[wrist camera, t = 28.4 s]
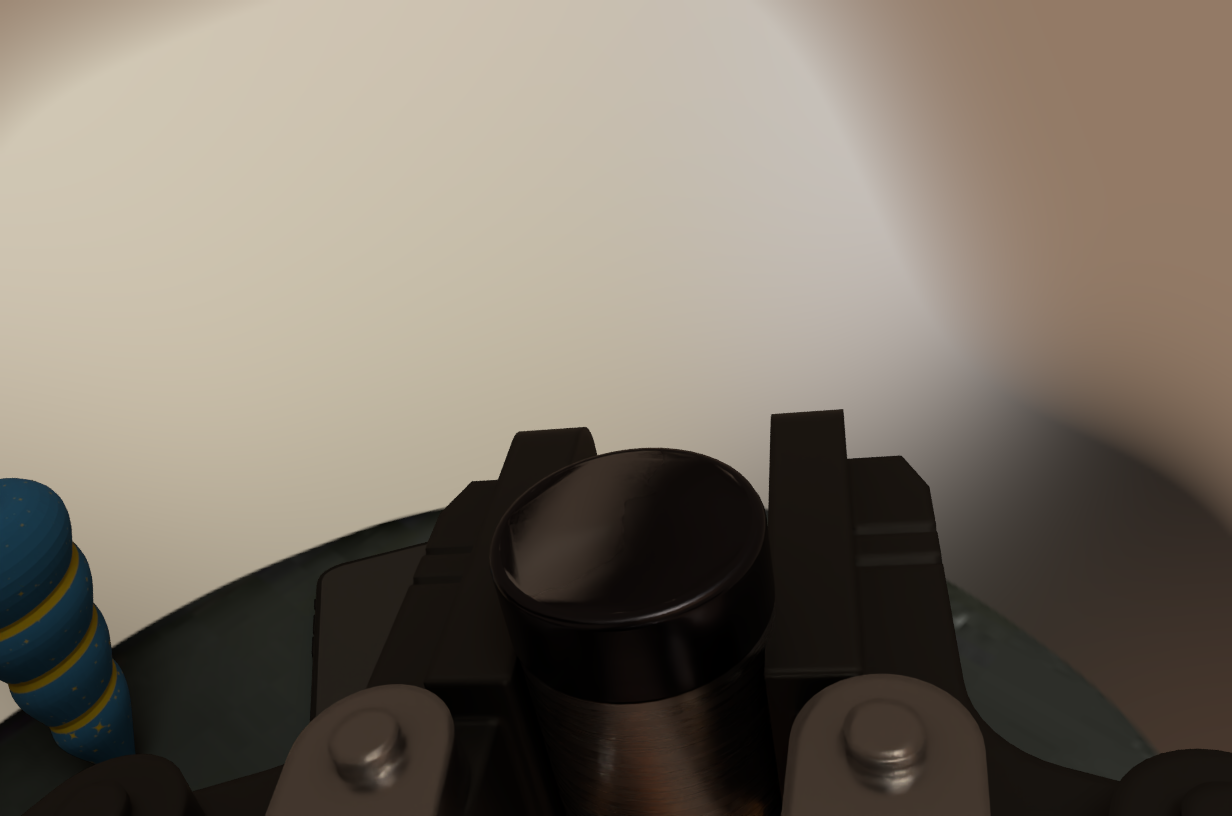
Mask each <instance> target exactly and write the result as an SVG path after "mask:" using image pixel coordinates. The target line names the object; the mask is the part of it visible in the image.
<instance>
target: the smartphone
mask: <svg viewBox="0 0 1232 816" xmlns="http://www.w3.org/2000/svg"><path fill="white" fill-rule="evenodd" d="M427 543H428V542H425V543H421V544H417V545H413V546H409V547H405V548H401V549H397V550H394V551H390V552H386V553H382V554H378V555H374V556H370V557H366V558H362V559H358V560H354V561H350V562H346V563H342V564H339V565H336V566H334V567H332V568H330V569H328V570H326V571H325V572H324V573H323V574H322V575H321V576H320V578H319V579H318V582H317V589H316V599H315V600H314V609H315V615H314V619H313V634H314V637H313V638H312V657H313V669H312V690H311V711H310V722H311V721H312V720H313V719H314V718H315V717H317V716H318V715H319V714H320V713H321V712H322V711H324V710H325V709H327V708H328V707H330V706H331V705H332V704H334V703H336V702H337V701H339V700H341V699H343V698H345V697H347V696H349V695H351V694H354V693H356V692H359V691H361V690H365V689H366V687H367V684H368V682H369V680H370V677H371V675H372V673H373V670H374V668H375V666H376V663H377V661H378V658H379V656H380V654H381V651H382V649H383V647H384V644H385V642H386V640H387V637H388V635H389V633H390V630H391V628H392V626H393V623H394V621H395V618H396V616H397V614H398V611H399V609H400V607H401V604H402V602H403V600H404V597H405V595H406V593H407V590H408V588H409V585H413V576H414V574H415V571H416V569H417V567H418V564H419V562H420V560H421V557H422V556H423V555H426V550H425V548H426V545H427Z"/></svg>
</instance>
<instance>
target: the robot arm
mask: <svg viewBox="0 0 1232 816" xmlns="http://www.w3.org/2000/svg"><path fill="white" fill-rule="evenodd" d="M770 433H771V434H770V468H769V470H770V471H769V508H768V534H769V542H770V550H771V558H772V566H773V574H774V582H775V602H774V607H775V617H774V623H773V628H772V631H771V634H770V637H769V639H768V642H767V644H766V645H765V666H764V677H765V684H766V692H767V699H768V706H769V713H770V721H771V728H772V735H773V742H774V750H775V757H776V764H777V771H778V779H779V786H780V793H781V800H782V813H781V816H1232V753H1230V752H1224V751H1219V750H1208V749H1185V750H1176V751H1171V752H1166V753H1161V754H1159V755H1156V756H1154V757H1151V758H1148V759H1146V760H1144V761H1143V762H1141V763H1140V764H1138V765H1136V766H1135V767H1133V768H1132V769H1131V770H1130V771H1129V772H1128V773H1127V774H1126V775H1125V776H1124V777H1123V778H1122V779H1121V781H1116V780H1112V779H1108V778H1104V777H1101V776H1097V775H1093V774H1089V773H1085V772H1081V771H1077V770H1073V769H1070V768H1066V767H1062V766H1059V765H1056V764H1053V763H1049V762H1046V761H1043V760H1041V759H1039V758H1037V757H1034V756H1032V755H1030V754H1028V753H1025V752H1024V751H1022V750H1020V749H1019V748H1017V747H1015V746H1014V745H1012V744H1010V743H1009V742H1007V741H1006V740H1005V739H1003V738H1002V737H1001V736H1000V735H998V734H997V733H996V732H994V731H993V730H992V729H991V728H990V726H989V725H988V724H987V723H986V722H985V721H984V720H983V719H982V718H981V716H980V715H979V714H978V712H977V711H976V710H975V708H974V707H973V705H972V703H971V701H970V699H969V697H968V695H967V691H966V688H965V684H964V680H963V674H962V669H961V663H960V657H959V652H958V646H957V640H956V635H955V629H954V624H953V618H952V612H951V607H950V601H949V595H948V590H947V584H946V578H945V573H944V567H943V564H942V559H941V558H942V557H941V550H940V545H939V539H938V533H937V531H936V522H935V516H934V511H933V505H932V499H931V494H930V488H929V486H928V485H927V484H926V482H925V481H924V480H923V479H922V478H921V477H920V476H919V475H918V474H917V472H916V471H915V470H914V469H913V468H912V467H911V466H910V465H909V463H908V462H907V461H906V460H905V459H904V458H903V457H902V456H886V457H871V458H870V457H869V458H853V459H847V452H846V438H845V425H844V413H843V409H839V410H826V411H811V412H797V413H783V414H772V415H771V429H770ZM594 456H597V453H596V448H595V444H594V440H593V437H592V435H591V432H590V431H589V429H588V428H587V427H578V428H564V429H550V430H536V431H521V432H518V433H516V435H515V436H514V438H513V440H512V443H511V446H510V449H509V451H508V454H507V457H506V460H505V462H504V465H503V468H502V470H501V473H500V476H499V478H498V480H487V481H472V482H471V483H470V484H469V485H468V486H467V487H466V488H465V489H464V490H463V491H462V492H461V493H460V494H459V495H458V496H457V497H456V498H455V499H454V500H453V501H452V502H451V503H450V504H449V505H448V506H447V507H446V508H445V509H444V510H443V511H442V512H441V513H440V515H439V517H438V520H437V522H436V524H435V527H434V529H433V531H432V534H431V536H430V538H429V541H428V543H427V545H426V548H425V550H426V555H423V556H422V557H421V560H420V562H419V564H418V567H417V569H416V571H415V574H414V576H413V585H409V588H408V590H407V593H406V595H405V597H404V600H403V602H402V604H401V607H400V609H399V611H398V614H397V616H396V618H395V621H394V623H393V626H392V628H391V630H390V633H389V635H388V637H387V640H386V642H385V644H384V647H383V649H382V651H381V654H380V656H379V658H378V661H377V663H376V666H375V668H374V670H373V673H372V675H371V677H370V680H369V682H368V684H367V687H366V689H365V690H361V691H359V692H356V693H354V694H351V695H349V696H347V697H345V698H343V699H341V700H339V701H337V702H336V703H334V704H332V705H331V706H330V707H328V708H327V709H325V710H324V711H322V712H321V713H320V714H319V715H318V716H317V717H315V718H314V719H313V720H312V721H311V722H310V723H309V724H308V725H307V726H306V728H305V729H304V730H303V731H302V732H301V733H300V735H299V736H298V738H297V739H296V741H295V742H294V744H293V746H292V748H291V750H290V752H289V754H288V756H287V759H286V762H285V764H283V765H281V766H278V767H275V768H272V769H269V770H266V771H263V772H259V773H256V774H252V775H249V776H245V777H242V778H238V779H235V780H231V781H228V782H224V783H221V784H217V785H214V786H210V787H207V788H203V789H200V790H196V791H193V792H192V790H191V789H190V787H189V785H188V783H187V782H186V780H185V778H184V776H183V775H182V773H181V771H180V769H179V768H178V767H177V766H176V765H175V764H174V763H173V762H171V761H169V760H167V759H165V758H163V757H160V756H156V755H152V754H133V755H125V756H120V757H116V758H112V759H109V760H106V761H103V762H100V763H98V764H95V765H93V766H91V767H89V768H87V769H85V770H83V771H81V772H79V773H78V774H76V775H74V776H72V777H71V778H69V779H68V780H66V781H65V782H63V783H62V784H61V785H59V786H58V787H56V788H55V789H54V790H53V791H51V792H50V793H49V794H48V795H46V796H45V797H44V798H42V799H41V800H40V801H39V802H37V803H36V804H35V805H34V806H32V807H31V808H30V809H29V810H27V811H26V812H25V813H24V814H22V815H21V816H566V813H565V810H564V806H563V803H562V800H561V796H560V793H559V790H558V786H557V783H556V779H555V776H554V773H553V769H552V766H551V763H550V759H549V756H548V753H547V749H546V746H545V743H544V739H543V736H542V733H541V729H540V726H539V723H538V719H537V716H536V713H535V709H534V706H533V703H532V699H531V696H530V693H529V689H528V686H527V683H526V679H525V676H524V673H523V669H522V666H521V663H520V659H519V658H518V656H517V654H516V652H515V650H514V648H513V645H512V642H511V639H510V635H509V632H508V629H507V626H506V622H505V619H504V616H503V612H502V609H501V606H500V602H499V599H498V596H497V592H496V589H495V586H494V582H493V579H492V576H491V572H490V566H489V554H490V546H491V542H492V538H493V535H494V532H495V529H496V527H497V525H498V523H499V522H500V520H501V518H502V517H503V515H504V514H505V512H506V511H507V509H508V508H509V507H510V506H511V505H512V504H513V503H514V502H515V500H516V499H517V498H518V497H520V496H521V495H522V494H523V493H524V492H525V491H526V490H528V489H529V488H530V487H532V486H533V485H534V484H536V483H537V482H539V481H540V480H542V479H543V478H545V477H547V476H548V475H550V474H552V473H553V472H556V471H558V470H560V469H562V468H564V467H566V466H568V465H571V464H573V463H576V462H578V461H581V460H584V459H587V458H590V457H594Z"/></svg>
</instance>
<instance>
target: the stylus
mask: <svg viewBox="0 0 1232 816" xmlns="http://www.w3.org/2000/svg"><path fill="white" fill-rule="evenodd" d="M489 566H490V572H491V576H492V579H493V582H494V586H495V589H496V592H497V596H498V599H499V602H500V606H501V609H502V612H503V616H504V619H505V622H506V626H507V629H508V632H509V635H510V639H511V642H512V645H513V648H514V650H515V652H516V654H517V656H518V658H519V659H520V663H521V666H522V669H523V673H524V676H525V679H526V683H527V686H528V689H529V693H530V696H531V699H532V703H533V706H534V709H535V713H536V716H537V719H538V723H539V726H540V729H541V733H542V736H543V739H544V743H545V746H546V749H547V753H548V756H549V759H550V763H551V766H552V769H553V773H554V776H555V779H556V783H557V786H558V790H559V793H560V796H561V800H562V803H563V806H564V810H565V813H566V816H781V813H782V800H781V793H780V786H779V779H778V771H777V764H776V757H775V750H774V742H773V735H772V728H771V721H770V713H769V706H768V699H767V692H766V684H765V677H764V666H765V645H766V644H767V642H768V639H769V637H770V634H771V631H772V628H773V623H774V617H775V607H774V602H775V582H774V574H773V566H772V558H771V550H770V542H769V534H768V525H767V518H766V513H765V509H764V506H763V503H762V501H761V499H760V497H759V495H758V494H757V492H756V491H755V490H754V488H753V487H752V485H751V484H750V483H749V481H748V480H747V479H746V478H745V477H743V476H742V475H741V474H740V473H739V472H738V471H736V470H735V469H733V468H732V467H731V466H729V465H727V464H725V463H723V462H721V461H719V460H717V459H714V458H711V457H709V456H706V455H703V454H699V453H695V452H691V451H686V450H679V449H669V448H638V449H628V450H621V451H615V452H610V453H605V454H601V455H597V456H594V457H590V458H587V459H584V460H581V461H578V462H576V463H573V464H571V465H568V466H566V467H564V468H562V469H560V470H558V471H556V472H553V473H552V474H550V475H548V476H547V477H545V478H543V479H542V480H540V481H539V482H537V483H536V484H534V485H533V486H532V487H530V488H529V489H528V490H526V491H525V492H524V493H523V494H522V495H521V496H520V497H518V498H517V499H516V500H515V502H514V503H513V504H512V505H511V506H510V507H509V508H508V509H507V511H506V512H505V514H504V515H503V517H502V518H501V520H500V522H499V523H498V525H497V527H496V529H495V532H494V535H493V538H492V542H491V546H490V554H489Z"/></svg>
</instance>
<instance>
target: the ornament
mask: <svg viewBox="0 0 1232 816" xmlns="http://www.w3.org/2000/svg"><path fill="white" fill-rule="evenodd" d="M0 680H1V681H3V682H5V683H7V684H8V686H9V689H10V692H11V695H12V697H13V699H14V700H15V702H16V703H17V704H18V706H19V707H20V708H21V709H22V710H23V711H25V712H26V713H27V714H29V715H30V716H32V717H33V718H35V719H37V720H38V721H40V722H42V723H43V724H45V725H46V726H48V727H50V729H51V732H52V735H53V738H54V740H55V741H56V743H57V744H58V746H59V747H60V748H62V749H63V750H64V751H66V752H67V753H69V754H71V755H73V756H75V757H78V758H80V759H83V760H86V761H88V762H91V763H94V764H98V763H100V762H103V761H106V760H109V759H112V758H116V757H120V756H125V755H133V754H135V745H134V733H133V721H132V709H131V700H130V694H129V689H128V685H127V682H126V679H125V677H124V674H123V672H122V670H121V669H120V667H119V665H118V664H117V663H116V661H115V660H114V659H113V658H112V649H111V642H110V635H109V630H108V627H107V624H106V622H105V619H104V617H103V615H102V613H101V611H100V610H99V609H98V607H97V606H96V605H95V604H94V603H93V583H92V576H91V571H90V568H89V564H88V562H87V559H86V558H85V556H84V554H83V553H82V551H81V550H80V549H79V548H78V547H77V545H76V544H75V543H74V542H73V541H72V529H71V522H70V518H69V514H68V511H67V509H66V507H65V505H64V503H63V501H62V499H61V498H60V497H59V496H58V495H57V494H56V493H55V492H54V491H53V490H52V489H51V488H49V487H47V486H46V485H43V484H41V483H38V482H36V481H33V480H27V479H19V478H4V479H0Z"/></svg>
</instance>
